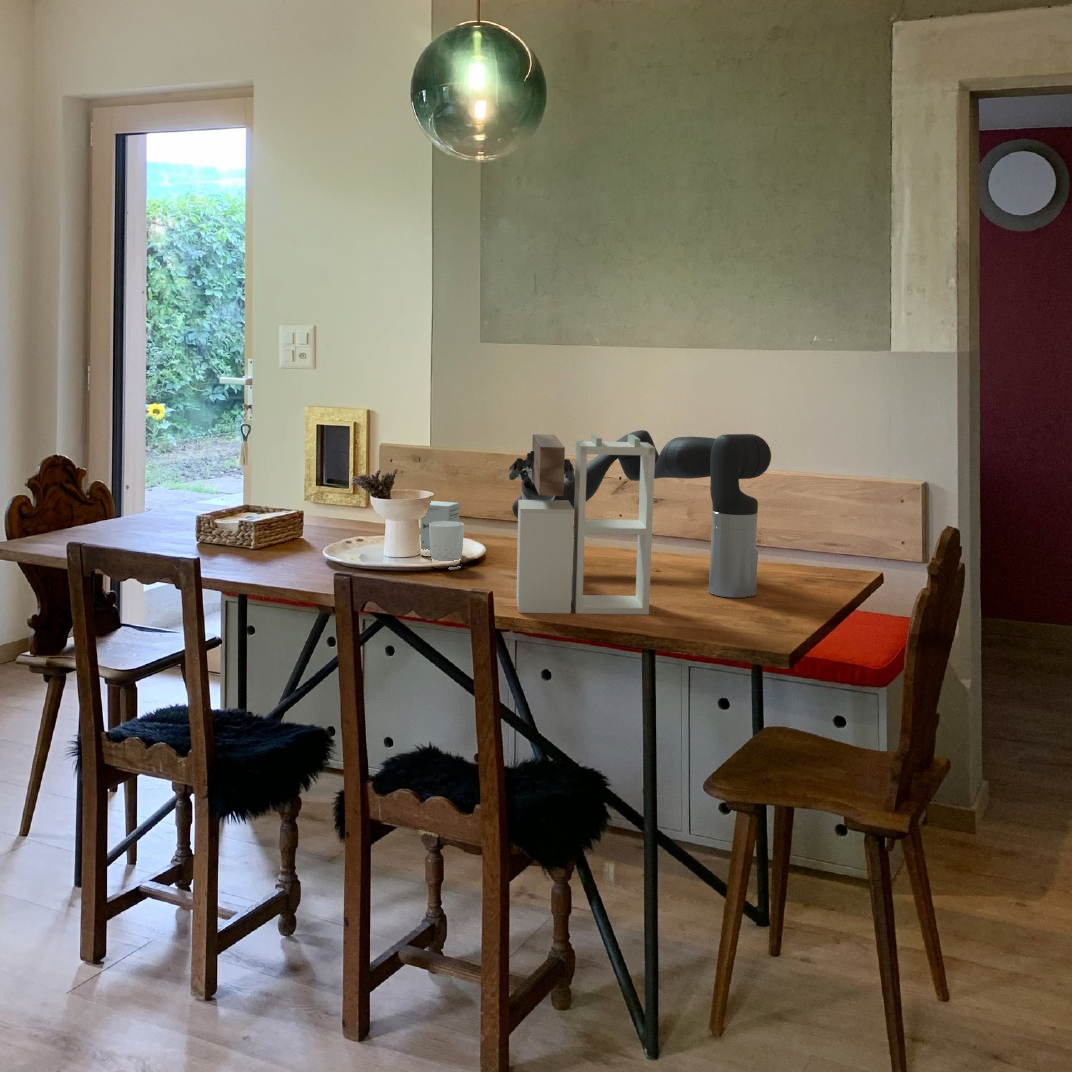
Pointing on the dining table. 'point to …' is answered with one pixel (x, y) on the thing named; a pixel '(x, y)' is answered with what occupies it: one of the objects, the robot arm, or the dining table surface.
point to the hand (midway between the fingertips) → (545, 455)
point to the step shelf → (581, 541)
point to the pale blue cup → (446, 541)
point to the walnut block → (548, 465)
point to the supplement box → (437, 518)
